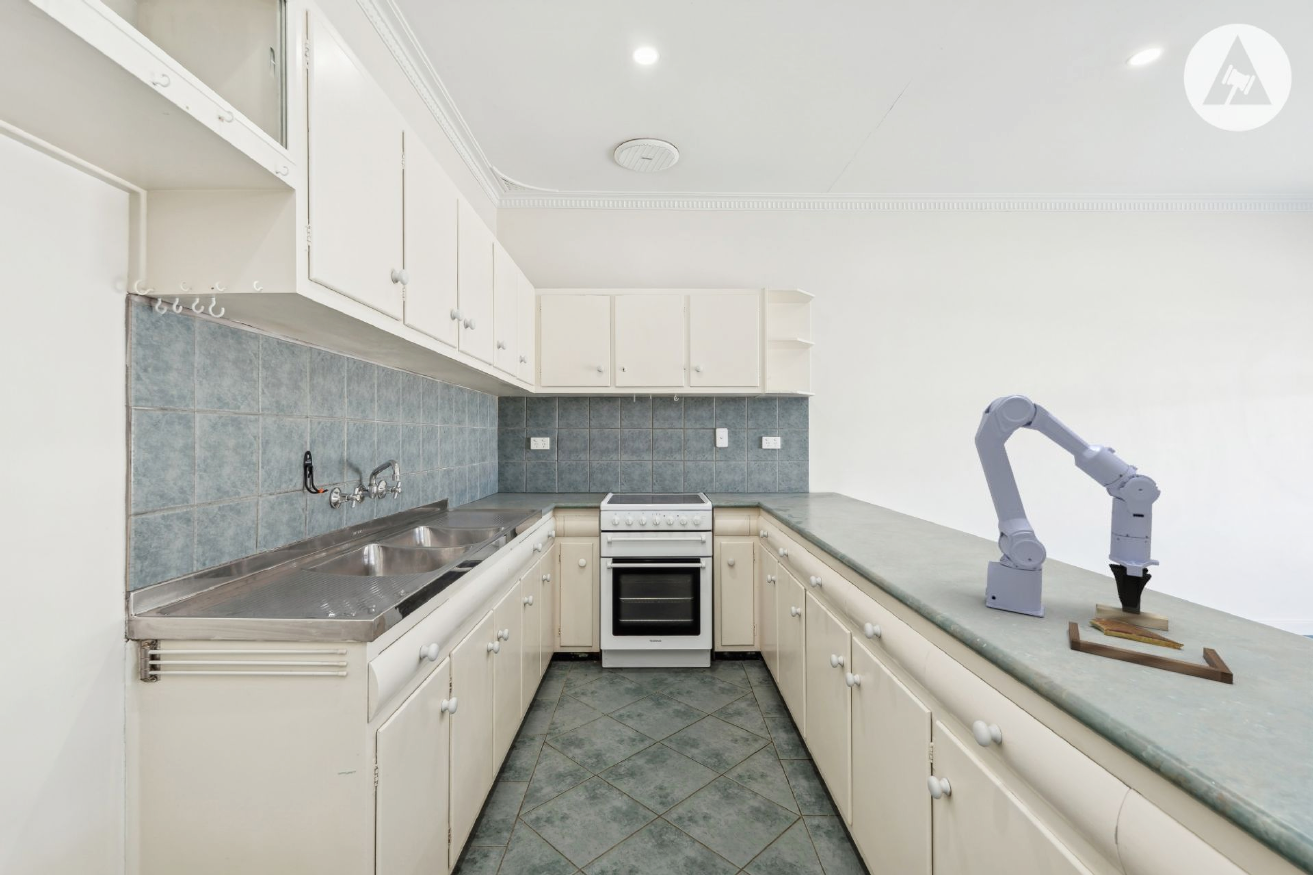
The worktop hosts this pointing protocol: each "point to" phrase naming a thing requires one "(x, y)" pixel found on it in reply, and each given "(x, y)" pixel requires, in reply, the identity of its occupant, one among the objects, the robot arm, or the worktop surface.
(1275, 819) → the worktop surface
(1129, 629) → the shard
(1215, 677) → the walnut frame
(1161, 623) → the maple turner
